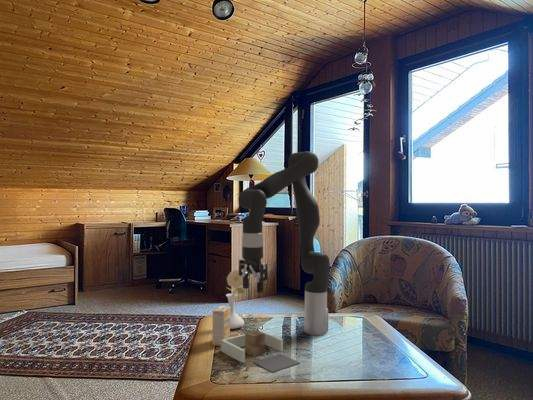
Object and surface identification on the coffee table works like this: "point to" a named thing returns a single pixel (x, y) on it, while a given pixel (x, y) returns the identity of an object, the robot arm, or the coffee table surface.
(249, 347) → the walnut block
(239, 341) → the open-side box
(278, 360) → the charcoal mat
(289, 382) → the coffee table surface
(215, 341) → the supplement box
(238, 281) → the flower in vase
